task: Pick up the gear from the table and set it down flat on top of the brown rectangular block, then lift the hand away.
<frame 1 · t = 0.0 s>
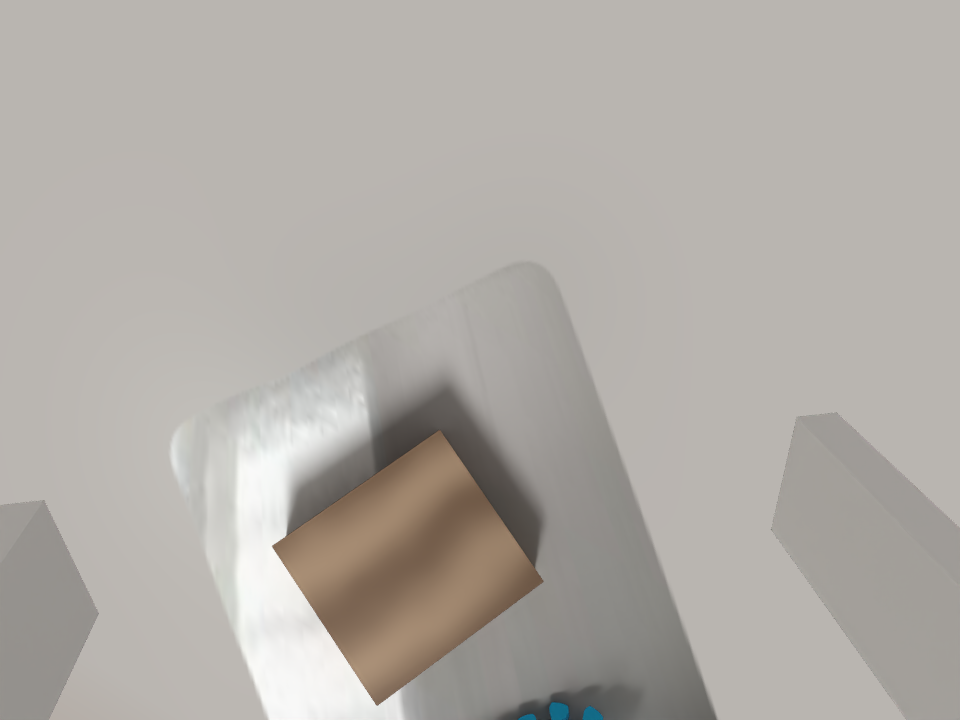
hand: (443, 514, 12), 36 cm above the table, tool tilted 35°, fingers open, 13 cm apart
brown rectangular block: (411, 553, 47), on the table
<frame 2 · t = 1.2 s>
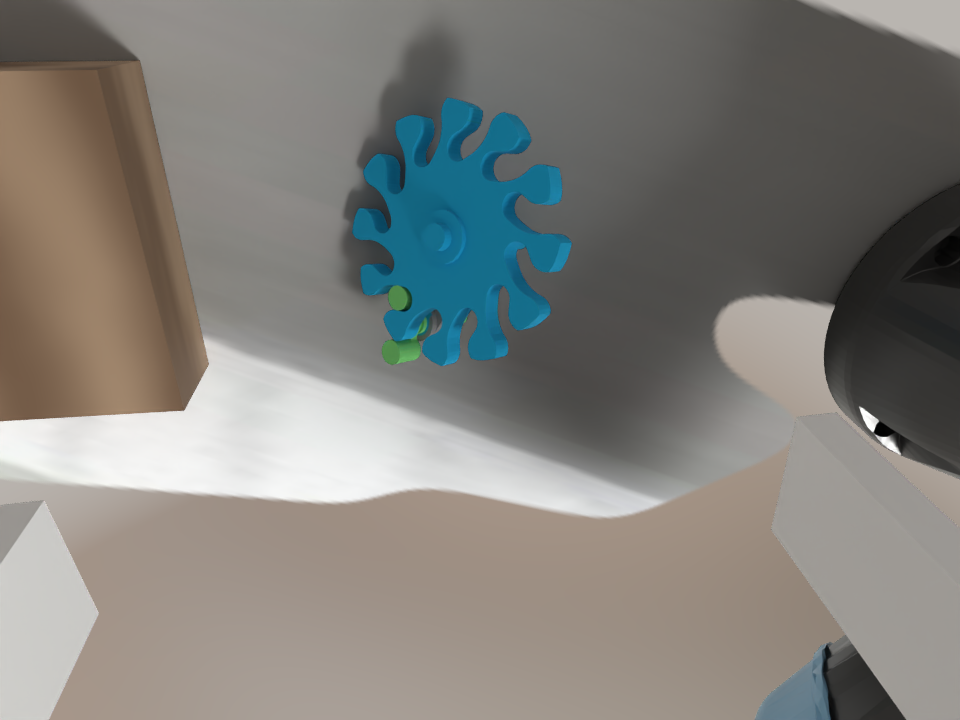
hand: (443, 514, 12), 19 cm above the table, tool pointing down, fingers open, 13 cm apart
gear: (441, 220, 29), on the table
brown rectangular block: (27, 234, 27), on the table
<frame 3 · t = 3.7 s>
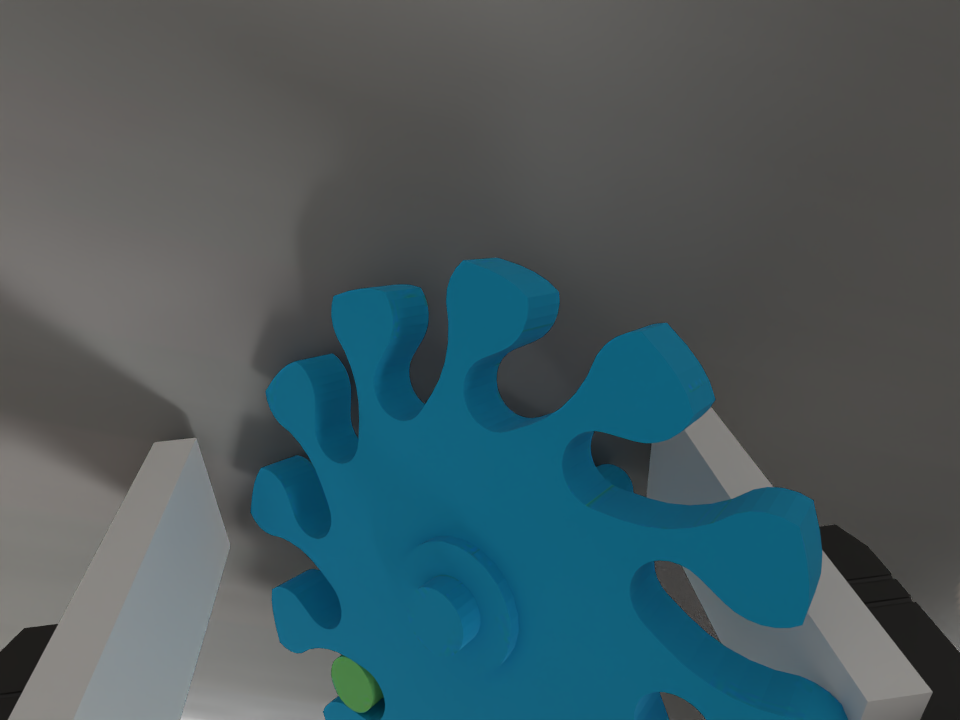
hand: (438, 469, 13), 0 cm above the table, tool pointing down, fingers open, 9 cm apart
gear: (446, 457, 14), on the table, touching gripper
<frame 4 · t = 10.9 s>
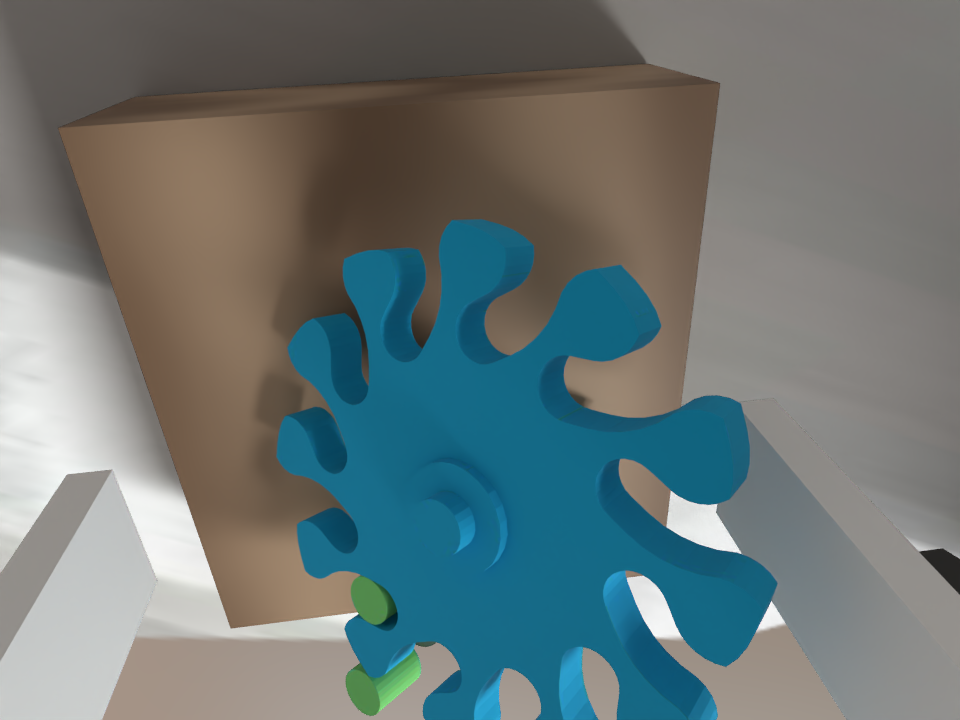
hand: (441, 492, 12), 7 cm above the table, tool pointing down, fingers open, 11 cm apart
gear: (447, 408, 16), point 4 cm above the table, touching brown rectangular block
brown rectangular block: (424, 327, 19), on the table
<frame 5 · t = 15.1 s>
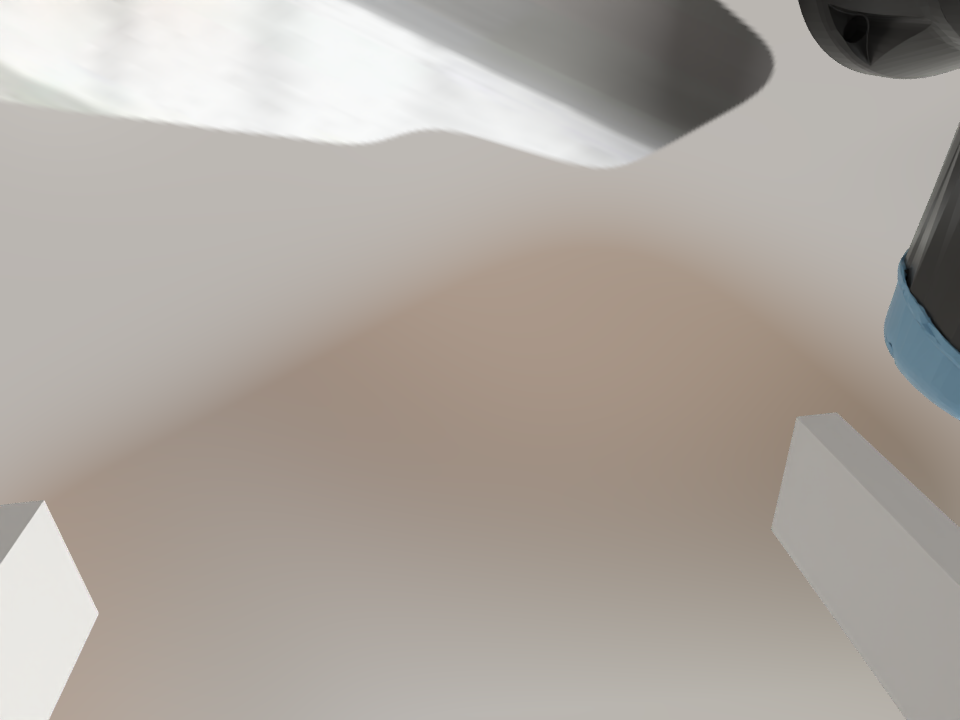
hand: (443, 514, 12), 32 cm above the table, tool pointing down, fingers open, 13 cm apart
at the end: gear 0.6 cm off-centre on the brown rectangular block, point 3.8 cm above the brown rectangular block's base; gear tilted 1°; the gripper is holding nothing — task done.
